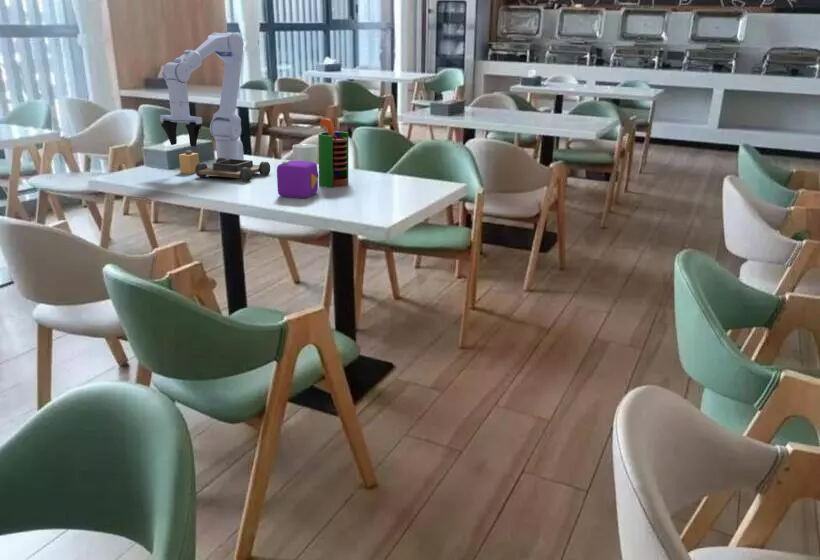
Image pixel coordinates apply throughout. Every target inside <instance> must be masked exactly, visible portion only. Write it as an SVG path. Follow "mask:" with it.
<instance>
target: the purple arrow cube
mask: <svg viewBox="0 0 820 560" xmlns="http://www.w3.org/2000/svg"><path fill="white" fill-rule="evenodd" d="M276 178H277V179H276V180H277V181H276V183H277V193H278V195H279V196H280V197H285V198H293V199H294V198H296V199H307V198H308V197H311V196H313V195H314V194H316V193H317V192H318V189H319V187H318V186H319V170H318V164H316V163H314V162H309V161H295V160H294V159H293V160H287V161H286V160H285V161H282V162H281V163H280V164H278V165H277V167H276Z"/></svg>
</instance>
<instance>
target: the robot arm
mask: <svg viewBox="0 0 820 560" xmlns="http://www.w3.org/2000/svg"><path fill="white" fill-rule="evenodd" d="M243 50H244V41H243V39H242V38H241V35H240V34H239V33H237V32H217V31H214V32H213V33H211V34H209V35H208V36H207V39H206V40H205V41H204V42H203V43H201V44H200V45H199V46H198V47H197V48H196V49H195V50H193V49H186V50H184V52H183V54H181V56H179V57H176V58H175V59H174V61H173V62H171V61H170V62H167V63H166V64H165V65H164V66H163V69H162V71H161V75H162V78H163V79H164V80H165V84H166V86H167V91H168V99H169V108H170V110H169V111H170V114H160V115H159V119H160V122H162V123H160V125H161V128H162V129H163V131H164V132H165V134H166V136H167V138H168V140H169V143H170V145H171V146H174V145H177V142H178V140H177V127H178V123H182V124H184V123H185V128H186V130H187V134H188V139H189V144H190V145H189V146H190V147H192V148H193V147H196V146H197V141H198V137H199V133H200V130H201V129H202V126H203V125H202V124H203V117H201V116H194V115H191V114H190V104H189V92H188V83H187V82H189V80H190V77H191V74H192V73H193V72H195V71H196V70H197V69H198V68H200V67H201V66H202V65H203V60H204V59H205V58H207V57H209V56H210V55H212V54H213V53H214V54H216V56H218V58H219V59H220V60H222V61H223V64H224V71H223V77H222V78H223V79H222V87H221V93H220V100H219V101H220V102H219V109H218V110H217V111H216V112H214V113H213V114H212V120H211V122H210V124H209V132H210V134H211V136H212V137H213V139H214V140H215V147H216V160H217V159H218V158H225V159H226V160H227V159H240V160H245V157H244V145H243V142H242V141H241V140H240V139H239V138H240V137H241V134H242V124H241V123H242V118H241V117H240V116H239V115H238V114H237V113H236V111H237V103H238V95H239V94H238V93H239V87H240V81H241V79H240V78H241V71H242V64H243V53H244V51H243ZM212 166H213V163H212Z"/></svg>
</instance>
